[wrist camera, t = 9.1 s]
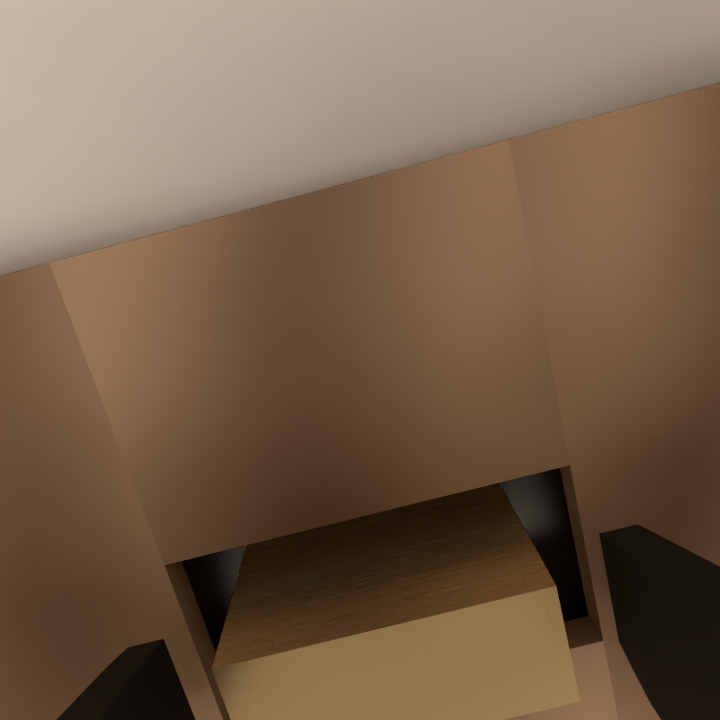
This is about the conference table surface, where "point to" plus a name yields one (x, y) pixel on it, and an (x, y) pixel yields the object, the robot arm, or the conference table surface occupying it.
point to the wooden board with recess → (364, 386)
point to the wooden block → (398, 619)
